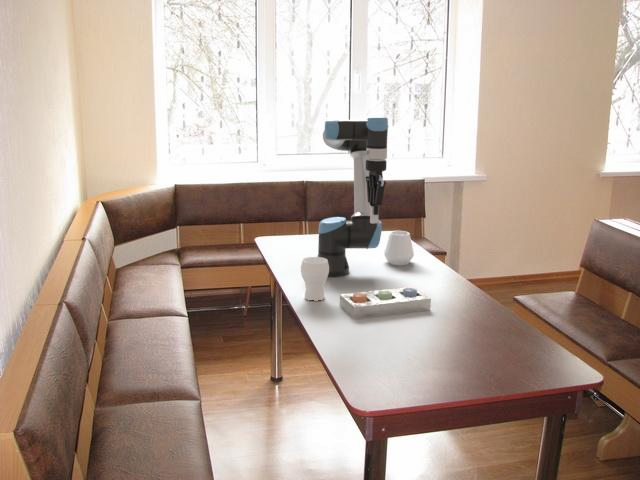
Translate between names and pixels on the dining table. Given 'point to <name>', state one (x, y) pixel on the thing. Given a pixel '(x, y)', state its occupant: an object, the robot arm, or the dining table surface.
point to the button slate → (409, 292)
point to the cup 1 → (314, 277)
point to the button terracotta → (359, 298)
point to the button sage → (384, 295)
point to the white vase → (399, 248)
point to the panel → (384, 304)
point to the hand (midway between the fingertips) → (374, 222)
